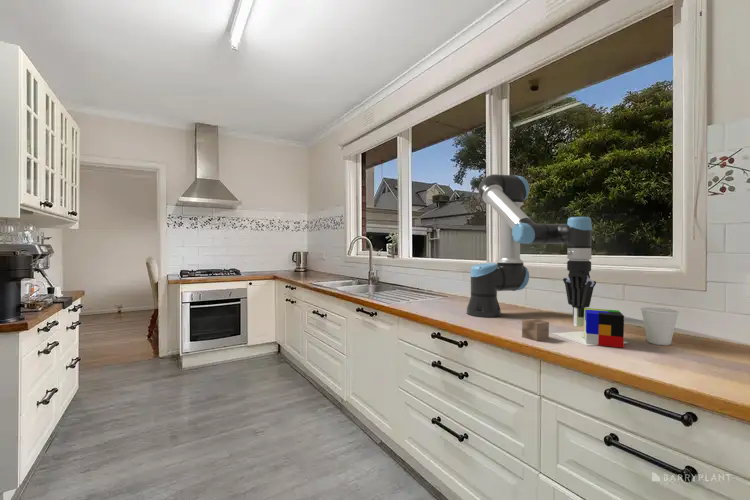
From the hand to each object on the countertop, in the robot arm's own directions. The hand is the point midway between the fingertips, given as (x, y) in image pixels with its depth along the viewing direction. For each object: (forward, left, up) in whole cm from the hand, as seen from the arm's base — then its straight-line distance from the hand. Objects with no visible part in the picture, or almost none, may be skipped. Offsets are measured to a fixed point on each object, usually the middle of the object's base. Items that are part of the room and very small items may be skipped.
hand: (578, 325), depth 129 cm
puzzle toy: (+10, 0, -3) cm, 11 cm away
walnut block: (+1, -18, -3) cm, 18 cm away
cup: (+15, +18, -3) cm, 23 cm away
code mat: (+5, 0, -3) cm, 6 cm away
